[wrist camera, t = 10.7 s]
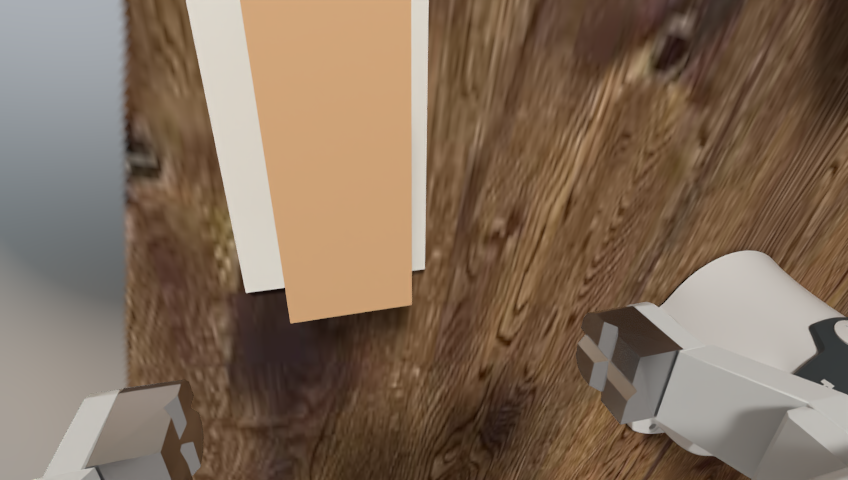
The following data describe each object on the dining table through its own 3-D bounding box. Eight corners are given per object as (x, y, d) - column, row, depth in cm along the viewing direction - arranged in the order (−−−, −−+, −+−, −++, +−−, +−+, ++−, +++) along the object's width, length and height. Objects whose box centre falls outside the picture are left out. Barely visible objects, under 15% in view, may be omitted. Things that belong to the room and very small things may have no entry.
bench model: (252, -6, 22) (238, -11, 15) (374, -4, 23) (411, -8, 17) (289, 246, 28) (290, 323, 22) (382, 236, 30) (411, 305, 23)
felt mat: (421, 263, 33) (424, 269, 32) (246, 286, 30) (245, 293, 29) (425, -68, 23) (429, -71, 23) (172, -82, 21) (168, -85, 20)
